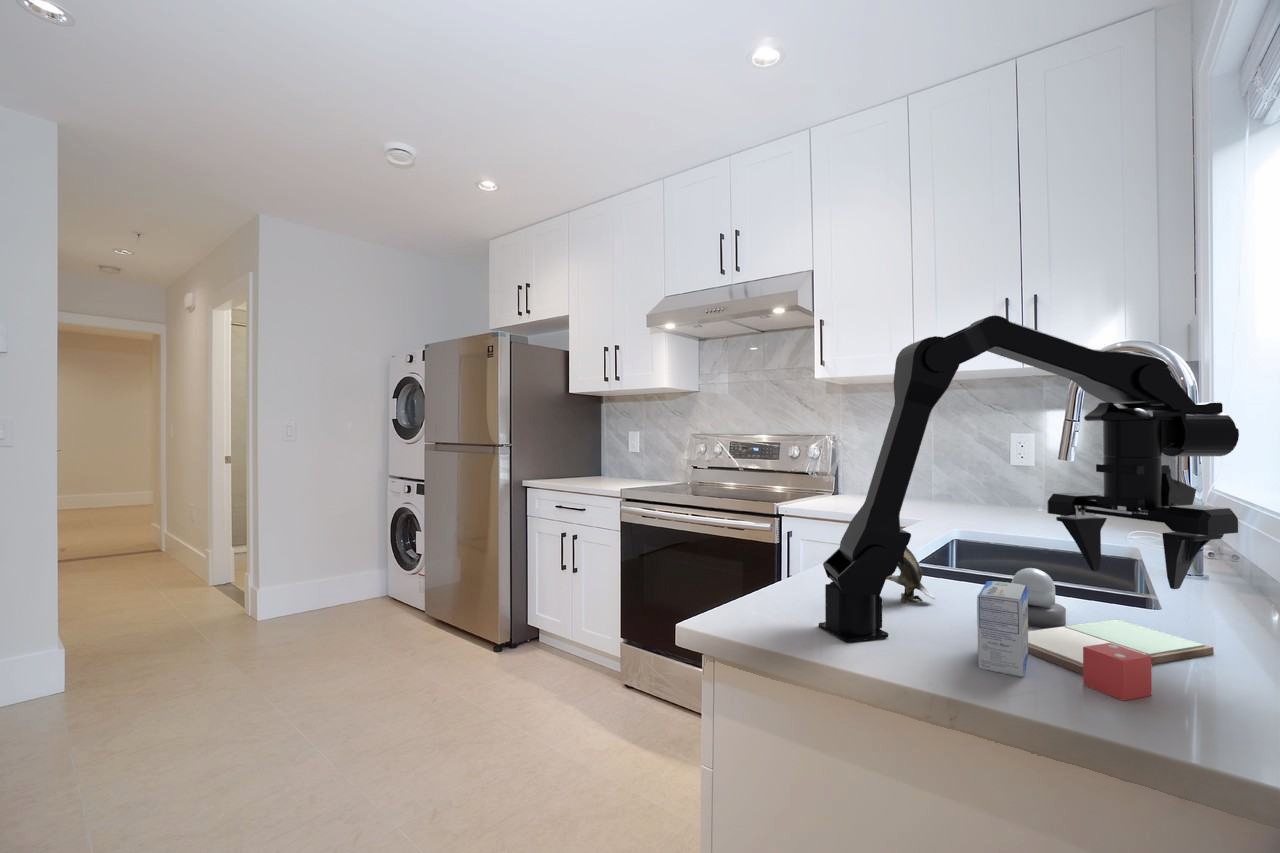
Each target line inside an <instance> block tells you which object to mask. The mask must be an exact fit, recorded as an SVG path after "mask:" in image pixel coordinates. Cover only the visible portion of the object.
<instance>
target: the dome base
mask: <svg viewBox="0 0 1280 853" xmlns="http://www.w3.org/2000/svg"><path fill="white" fill-rule="evenodd" d="M1066 610H1067V609H1066V607H1065V606H1063V605H1061V604H1060V603H1057V602H1055V605H1052V606H1035V605H1029V604H1028V626H1030V627H1037V628H1046V629H1048V628H1055V627H1062V626H1067V611H1066Z"/></svg>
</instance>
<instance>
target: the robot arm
mask: <svg viewBox="0 0 1280 853" xmlns="http://www.w3.org/2000/svg"><path fill="white" fill-rule="evenodd" d="M986 352H989V353H991V354H995V355H998V356H1000V357H1003V358H1006V359H1008V360H1013V361H1015V362H1017V363H1021V364H1024V365H1027V366H1030V367H1033V368H1035V369H1039V370H1042V371H1045V372H1048V373H1051V374H1054V375H1056V376H1061V377H1063V378H1066V379H1068V380H1070V381H1072V382H1073V383H1076V385H1078V387H1080V389H1081V390H1082V391H1084V392H1085V393H1088V394H1089V395H1091V396H1093V397H1095V398H1096V399H1099V400H1100V401H1102V402H1100V403H1098V404H1097V406H1096V407H1095V408H1094V409H1093V410H1092V411H1090V412H1088V413H1087V414H1086V415H1084V417H1083V418H1084V420H1085V421H1086V422H1102V430H1103V431H1102V434H1103V435H1102V438H1103V442H1102V444H1103V445H1102V448H1103V450H1102V452H1103V461H1102V462H1103V463H1096V464H1095V469H1096V470H1095V472H1096V473H1103V495H1101V494H1095V493H1087V492H1086V493H1084V492H1061V493H1059V492H1058V493H1057V492H1056V493H1052V494H1051V496H1050V497H1049V498H1048V500H1047V507H1046V508H1047V514H1049V515H1058V516H1056V517H1055V520H1056V522H1061V523H1062V525H1063V526H1064V527H1065V529H1066V530H1067V531H1068V533H1069V535H1070V536H1071V537H1072V539H1073V541H1074V543H1075V544H1076V546H1077V547H1078V549H1079V552H1080V553H1081V555H1082V556H1083V558H1084V560H1085V562H1086V564H1087V565H1088V567H1089V569H1090V571H1091V572H1099V571H1100V570H1101V563H1102V537H1101V535H1102V533H1101V531H1102V528H1103V527H1104V525H1105V523H1106V521H1107V517H1105V516H1108V517H1109V516H1110V517H1116V518H1124V519H1125V518H1127V519H1132V520H1133V519H1134V520H1140V521H1149V522H1156V523H1161V524H1163V523H1164V524H1165V526H1166V527H1167V528H1168V529H1170V530H1171V531H1168V532H1162V533H1161V534H1162V541H1163V542H1162V543H1163V544H1162V545H1163V552H1164V561H1165V568H1166V578H1167V582H1168V584H1169V589H1172V590H1178V589H1180V588H1181V586H1182V584H1183V582H1184V580H1185V578H1186V576H1187V574H1188V572H1189V570H1190V568H1191V567H1192V565H1193V562H1194V560H1195V558H1196V557H1197V555H1198V554H1199V553H1200V551H1201V549H1203V547H1204V546H1205V545H1206V544H1208V543H1209V542H1211V541H1213V540H1221V539H1223V537H1224V535H1228V534H1230V535H1231V534H1238V533H1239V518H1238V517H1237V515H1236V514H1235V512H1233V510H1232V509H1231V508H1230V507H1221V506H1220V507H1219V506H1213V505H1212V506H1211V505H1202V504H1201V505H1200V504H1194V501H1195V497H1196V493H1197V489H1196V488H1195V487H1192V486H1190V485H1188V484H1186V483H1184V482H1182V481H1180V480H1177V479H1173V478H1172V470H1171V468H1170V465H1169V464H1163V458H1162V455H1165V456H1167V457H1223V456H1227V455H1229V454H1230V453H1232V451H1234V449H1235V448H1236V447H1237V445H1238V443H1239V442H1238V441H1239V437H1240V436H1239V435H1240V431H1239V429H1238V428H1237V427H1236V423H1235V422H1234V420H1233V419H1232V417H1231V416H1230V415H1229V414H1227V413H1225V412H1224V411H1223V403H1222V402H1199V403H1195V402H1194V401H1193V399H1192V398H1191V396H1189V395H1188V393H1187V392H1186V391H1185V390H1184V389H1183V388H1182V386H1181V385H1180V384H1179V383H1178V381H1177V380H1176V379H1175V378H1174V376H1173V375H1172V372H1171V370H1170V368H1169V363H1168V362H1166V361H1165V360H1164V359H1162V358H1160V357H1157V356H1153V355H1149V354H1148V355H1147V354H1141V353H1135V352H1130V351H1129V352H1128V351H1112V350H1111V351H1110V350H1102V349H1101V350H1100V349H1095V348H1092V347H1089V346H1087V345H1083V344H1081V343H1076V342H1074V341H1070V340H1069V339H1065V338H1062V337H1059V336H1056V335H1052V334H1049V333H1047V332H1043V331H1040V330H1037V329H1034V328H1031V327H1028V326H1026V325H1025V326H1024V325H1022V324H1019V323H1016V322H1013V321H1010V320H1009V319H1007V318H1005V317H1004V316H1001V315H996V314H995V315H989V316H986V317H984V318H982V319H979V320H976V321H975V322H973V323H971V324H970V325H969V326H966V327H964V328H963V329H960V330H958V331H955V332H954V333H951V334H948V335H946V336H939V335H938V336H937V335H936V336H928V337H925V338H923V339H921V340H918V341H915V342H912V343H910V344H908V345H907V346H905V347H904V348H902V349H901V350H900V351H899V352H898V354H897V356H896V360H895V366H894V374H893V375H894V376H893V383H892V384H893V392H894V394H893V395H894V406H893V409H892V412H891V416H890V419H889V422H888V426H887V429H886V432H885V435H884V438H883V441H882V445H881V447H880V452H879V454H878V458H877V462H876V465H875V468H874V470H873V473H872V474H873V475H872V478H871V481H870V485H869V487H868V491H867V493H866V494H867V495H866V498H865V500H864V503H863V504H862V506H861V507H860V509H859V510H858V511H857V512H856V514H855V515H854V516H853V517H852V519H851V520H850V522H849V524H848V526H847V528H846V530H845V532H844V534H843V536H842V537H841V540H840V542H839V547H838V549H836V551H834V552H833V554H831V556H829V557H828V558H827V559H826V560H825V561H824V562H823V563H822V566H823V568H824V570H825V574H826V577H827V578H828V579H830V580H831V582H830V583H827V584H825V585H824V586H825V587H824V589H825V590H824V591H825V594H824V595H825V601H824V602H825V605H824V606H825V608H824V609H825V614H824V615H825V617H824V618H825V622H823V621H822V622H819V623H818V628H819V629H822V630H823V631H826V632H828V634H831V635H833V636H835V637H837V638H839V639H840V640H841V641H844V642H845V643H853V642H861V641H869V640H877V639H885V638H889V633H888V632H887V631H885V630H882V628H883V598H882V596H881V593H882V590H883V588H884V585H885V583H886V581H887V579H886V578H887V577H888V576H891V575H894V573H895V572H896V570H897V568H898V563H900V564H901V565H904V558H903V557H904V552H905V549H906V547H907V548H908V545H909V543H910V540H911V537H912V533H910V532H908V531H906V530H904V529H902V528H901V520H900V517H901V516H900V515H901V511H902V506H903V504H904V501H905V497H906V494H907V490H908V487H909V484H910V481H911V478H912V474H913V472H914V468H915V464H916V462H917V458H918V454H919V452H920V449H921V445H922V442H923V440H924V439H923V438H924V436H925V432H926V428H927V425H928V422H929V420H930V417H931V413H932V411H933V409H934V407H935V406H936V405H937V404H938V402H939V401H940V399H941V398H942V397H943V396H944V394H945V393H946V392H947V390H948V388H949V387H950V385H951V383H952V381H953V379H954V378H955V375H956V374H957V371H958V369H959V367H960V365H961V364H963V363H965V362H967V361H970V360H971V359H972V360H973V358H976V357H978V356H980V355H981V354H983V353H986ZM1116 405H1120V406H1122V408H1121V407H1120V408H1119V407H1117V406H1116ZM1148 412H1151V413H1152V415H1150V413H1148ZM1118 507H1122V508H1123V507H1124V508H1125V509H1119V508H1118ZM1096 515H1103V516H1104V517H1103V516H1096Z"/></svg>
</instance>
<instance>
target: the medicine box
mask: <svg viewBox="0 0 1280 853" xmlns="http://www.w3.org/2000/svg"><path fill="white" fill-rule="evenodd" d="M976 598H977V599H976V619H977V620H976V621H977V622H976V623H977V658H978V659H977V662H978V668H979V669H981V670H986V671H990V672H995V673H999V674H1004V675H1008V676H1009V675H1010V676H1015V677H1018V678H1023V677H1024V676H1025V671H1026V666H1027V662H1028V657H1029V653H1028V631H1029V625H1028V595H1027V586H1025V585H1021V584H1014V583H1012V582H1007V581H1005V582H1004V581H997V580H996V581H995V580H994V581H993V580H992V581H990V580H989V581H986V582H985V584H984V585H983V587H982V588H981V591H980V592H979V593H978V594H977V597H976Z"/></svg>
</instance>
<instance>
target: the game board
mask: <svg viewBox="0 0 1280 853" xmlns="http://www.w3.org/2000/svg"><path fill="white" fill-rule="evenodd" d="M1105 643H1112V644H1116V645H1119V646H1122V647H1125V648H1128V649H1131V650H1134V651H1137V652H1140V653H1143V654H1146V655H1149V656H1151V665H1157V664H1161V663H1168V662H1175V661H1179V660H1180V661H1181V660H1184V659H1185V660H1186V659H1192V658H1197V657H1203V656H1209V655H1214V651H1215V650H1214V646H1211V645H1207V644H1205V643H1201V642H1197V641H1194V640H1190V639H1187V638H1183V637H1180V636H1175V635H1172V634H1169V633H1166V632H1162V631H1160V630H1155V629H1152V628H1148V627H1146V626H1141V625H1138V624H1135V623H1131V622H1128V621H1124V620H1122V619H1118V618H1116V619H1115V618H1114V619H1108V620H1107V619H1106V620H1102V621H1101V620H1100V621H1093V622H1087V623H1079V624H1070V625H1065V626H1062V627H1055V628H1041V629H1034V630H1028V654H1030V655H1032V656H1035V657H1038V658H1040V659H1043V660H1046V661H1048V662H1050V663H1053V664H1056V665H1058V666H1060V667H1063V668H1066V669H1069V670H1071V671H1074V672H1076V673H1078V674H1080V675H1083V647H1085V646H1092V645H1098V644H1105Z"/></svg>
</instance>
